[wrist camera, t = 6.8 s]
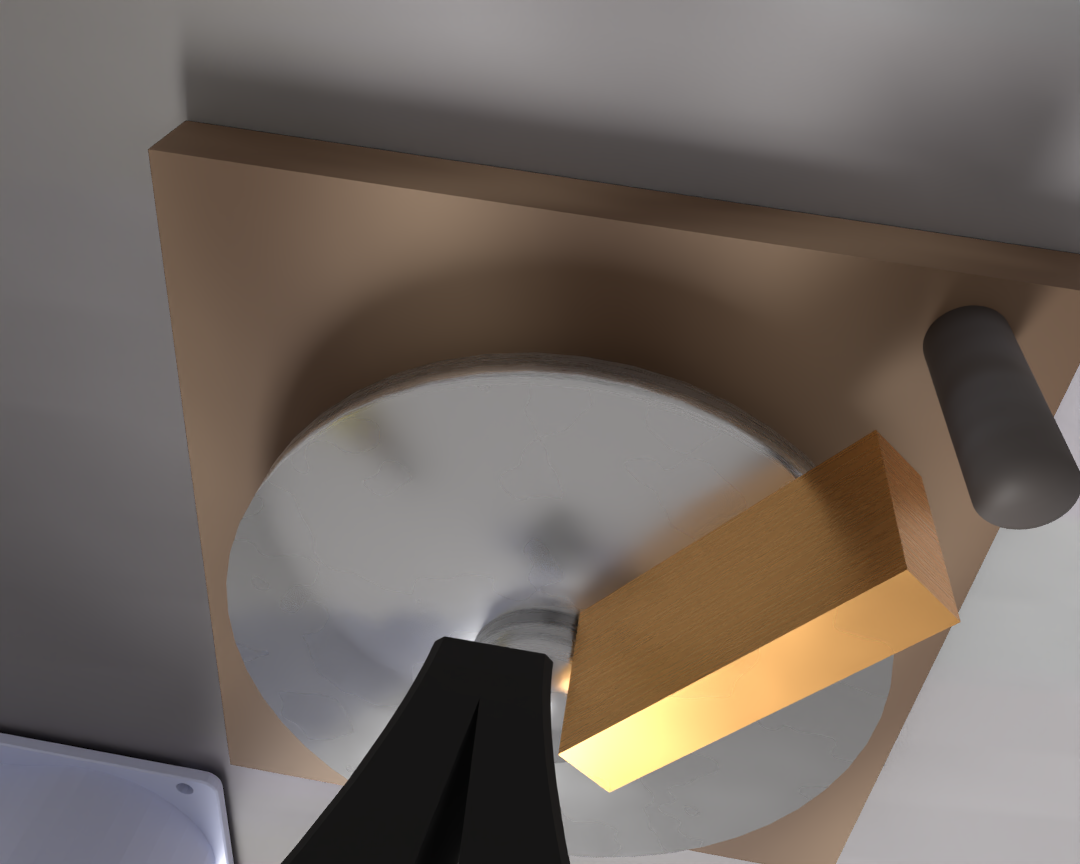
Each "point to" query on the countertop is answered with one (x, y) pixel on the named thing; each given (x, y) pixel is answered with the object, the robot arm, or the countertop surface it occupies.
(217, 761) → the countertop surface
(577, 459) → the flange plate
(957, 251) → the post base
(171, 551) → the countertop surface
